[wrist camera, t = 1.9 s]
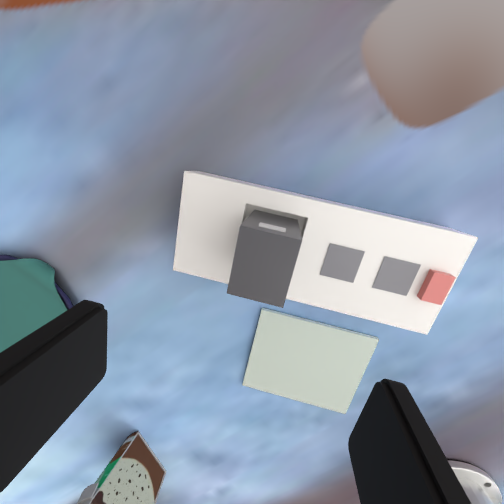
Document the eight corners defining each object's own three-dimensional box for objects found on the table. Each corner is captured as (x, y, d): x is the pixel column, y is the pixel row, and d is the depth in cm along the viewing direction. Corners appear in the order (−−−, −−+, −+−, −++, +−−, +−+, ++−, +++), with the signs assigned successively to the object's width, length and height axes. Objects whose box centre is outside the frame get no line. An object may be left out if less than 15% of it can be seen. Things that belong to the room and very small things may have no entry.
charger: (298, 218, 25) (302, 238, 17) (284, 269, 26) (282, 307, 19) (254, 207, 25) (240, 223, 17) (243, 259, 27) (226, 293, 19)
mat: (377, 337, 30) (379, 339, 29) (344, 410, 33) (345, 414, 33) (262, 307, 30) (261, 309, 30) (243, 382, 34) (242, 385, 34)
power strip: (449, 227, 25) (485, 239, 20) (408, 312, 28) (431, 339, 24) (199, 171, 26) (180, 170, 22) (187, 257, 30) (169, 272, 25)
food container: (104, 430, 41) (49, 507, 32) (133, 424, 40) (85, 502, 30) (141, 482, 44) (101, 566, 35) (170, 477, 43) (137, 564, 33)
